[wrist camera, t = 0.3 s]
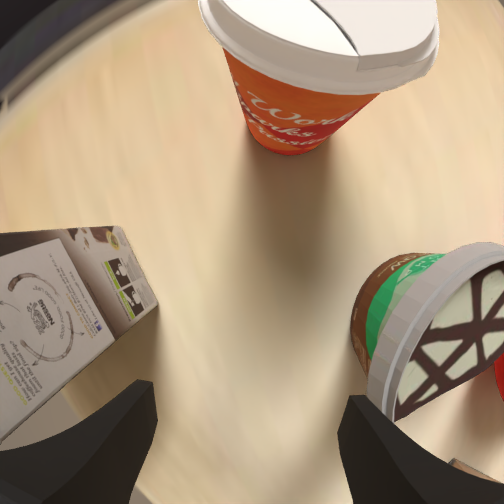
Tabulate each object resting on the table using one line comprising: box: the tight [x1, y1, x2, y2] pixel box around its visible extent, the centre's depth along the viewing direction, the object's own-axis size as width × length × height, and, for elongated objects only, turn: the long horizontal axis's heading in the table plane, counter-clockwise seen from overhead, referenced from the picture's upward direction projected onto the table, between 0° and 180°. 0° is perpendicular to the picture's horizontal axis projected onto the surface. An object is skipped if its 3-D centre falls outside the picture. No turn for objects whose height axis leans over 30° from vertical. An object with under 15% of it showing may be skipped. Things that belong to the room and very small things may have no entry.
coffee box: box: [0, 226, 158, 445], centre depth 13 cm, size 9×6×16 cm
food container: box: [351, 242, 504, 423], centre depth 15 cm, size 12×6×10 cm, turn 114°
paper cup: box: [198, 0, 439, 155], centre depth 13 cm, size 8×8×14 cm
